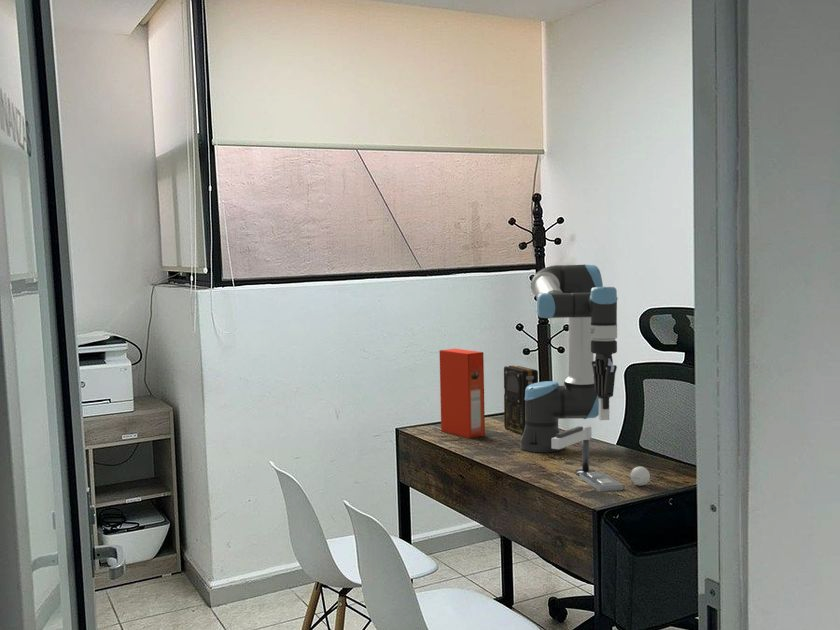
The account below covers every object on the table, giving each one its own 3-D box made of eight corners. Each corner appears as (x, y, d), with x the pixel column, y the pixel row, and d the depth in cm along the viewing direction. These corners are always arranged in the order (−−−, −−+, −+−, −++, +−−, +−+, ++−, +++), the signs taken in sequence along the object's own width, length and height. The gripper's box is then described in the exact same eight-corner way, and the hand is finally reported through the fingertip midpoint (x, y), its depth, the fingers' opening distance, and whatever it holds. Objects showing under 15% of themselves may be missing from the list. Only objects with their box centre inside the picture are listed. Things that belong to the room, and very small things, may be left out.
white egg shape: (626, 484, 257) (626, 465, 257) (643, 482, 259) (643, 463, 259) (640, 490, 250) (640, 471, 250) (657, 488, 252) (657, 469, 251)
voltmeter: (501, 428, 341) (501, 365, 340) (520, 426, 345) (520, 364, 343) (521, 436, 327) (521, 370, 325) (541, 433, 330) (540, 369, 329)
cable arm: (583, 437, 271) (583, 423, 271) (593, 438, 269) (593, 424, 268) (549, 449, 255) (549, 434, 255) (560, 450, 253) (560, 436, 252)
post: (573, 472, 272) (572, 438, 271) (590, 471, 273) (590, 437, 272) (580, 477, 266) (580, 442, 265) (598, 475, 267) (598, 441, 266)
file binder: (468, 438, 324) (467, 353, 322) (440, 431, 338) (439, 350, 336) (484, 435, 329) (484, 352, 327) (456, 428, 343) (455, 348, 341)
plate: (579, 477, 265) (579, 471, 265) (600, 476, 266) (600, 470, 266) (600, 491, 249) (600, 485, 249) (622, 489, 251) (622, 483, 251)
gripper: (583, 338, 258) (583, 416, 259) (600, 341, 245) (600, 424, 246) (606, 337, 259) (607, 415, 261) (625, 341, 247) (625, 422, 248)
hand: (604, 419), depth 254 cm, fingers closed
